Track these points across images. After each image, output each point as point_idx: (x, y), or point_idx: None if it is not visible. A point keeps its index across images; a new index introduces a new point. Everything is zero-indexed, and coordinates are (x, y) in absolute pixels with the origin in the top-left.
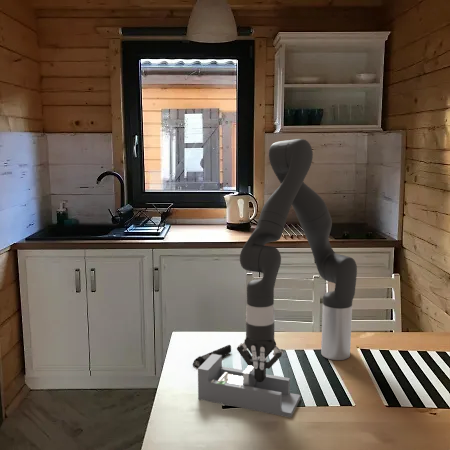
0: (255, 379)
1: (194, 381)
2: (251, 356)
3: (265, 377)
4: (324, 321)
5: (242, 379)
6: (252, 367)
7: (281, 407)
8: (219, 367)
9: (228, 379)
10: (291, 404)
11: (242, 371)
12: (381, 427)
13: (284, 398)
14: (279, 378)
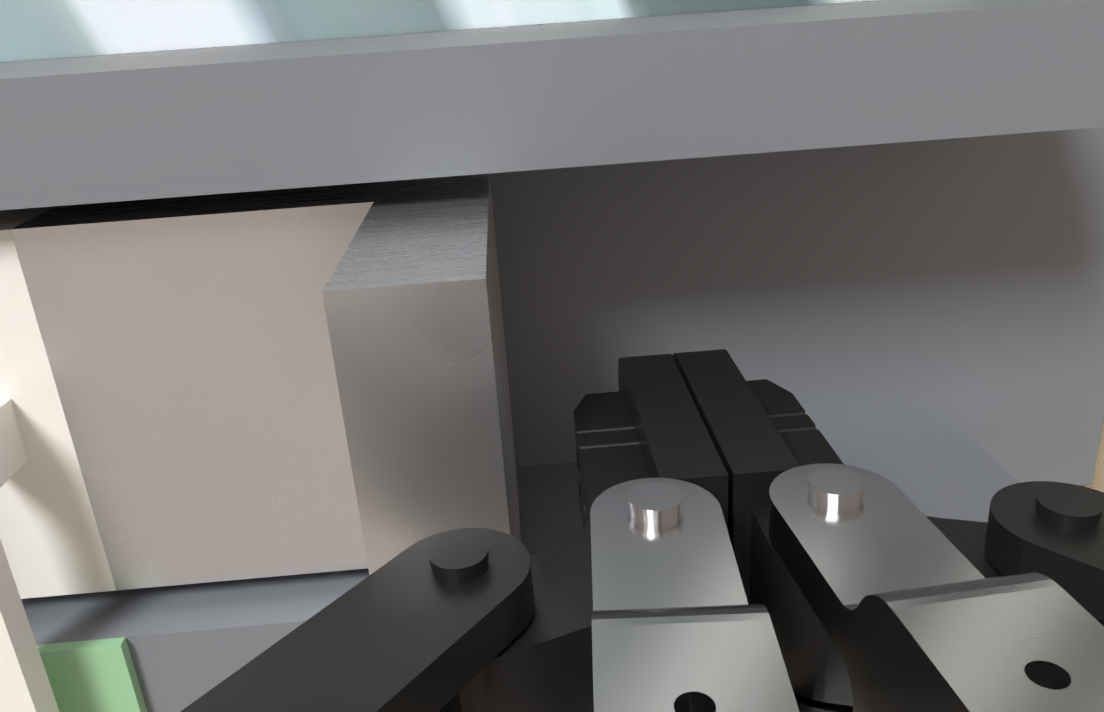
0: (489, 193)
1: None
2: (443, 686)
3: (781, 396)
4: None
5: (292, 349)
6: (486, 475)
7: (960, 419)
8: None
9: (67, 448)
10: (1075, 298)
11: (147, 142)
12: None
13: (960, 187)
14: (981, 101)
